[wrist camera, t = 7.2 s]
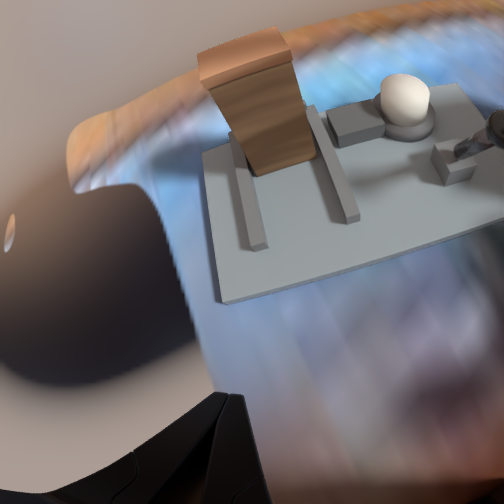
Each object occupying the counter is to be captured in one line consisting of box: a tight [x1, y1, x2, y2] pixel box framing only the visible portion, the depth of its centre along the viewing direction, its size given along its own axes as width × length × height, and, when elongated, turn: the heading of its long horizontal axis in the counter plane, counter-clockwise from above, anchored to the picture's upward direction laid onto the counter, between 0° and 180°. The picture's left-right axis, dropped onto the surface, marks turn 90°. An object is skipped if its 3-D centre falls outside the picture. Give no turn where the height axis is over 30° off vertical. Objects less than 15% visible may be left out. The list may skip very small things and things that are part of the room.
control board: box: [201, 74, 504, 305], centre depth 22 cm, size 14×26×4 cm, turn 101°
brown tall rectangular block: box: [197, 26, 317, 177], centre depth 21 cm, size 3×5×11 cm, turn 101°
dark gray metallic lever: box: [453, 110, 504, 160], centre depth 15 cm, size 2×2×8 cm
